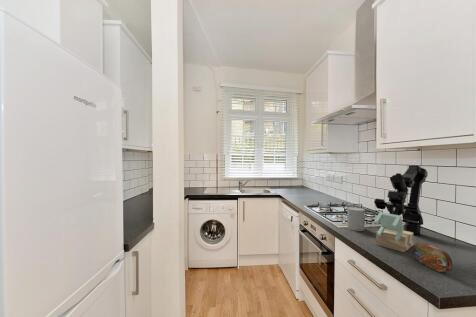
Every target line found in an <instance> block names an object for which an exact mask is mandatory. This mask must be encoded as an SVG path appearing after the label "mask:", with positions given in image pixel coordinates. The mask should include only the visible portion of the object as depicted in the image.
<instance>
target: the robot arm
mask: <svg viewBox="0 0 476 317" xmlns="http://www.w3.org/2000/svg"><path fill="white" fill-rule="evenodd" d="M428 175H429V174H428V170H427V169H426V168H424V167H421V166H420V165H414V164H413V165H411V164H410V165H408V167H407V169H406V170H405V172H404V173H403V174H402V173H400V172H399V173H395V174H393V175H392V176H390V177H389V181H390V183H391V185H392V188H393V189H394V191H392V190H388V193H387V196H386V197H387V198H388V201H387V202H386V201H385V199H384V198H375V199H374V201H373V203H374V204H375V207H376V209H379V210H385V209H386V210H387V211H388V213H389V214H394V215H399V216H401V218H402V223H404V226H403V230H404V231H409V232H413V233H414V235H415V236H416V235H417V236H422V235H423V234H422V233H421V226H422V225H424V218H423V215H422V212H421V209H420V206H419V202H420V199H421V198H420V197H421V192H422V191H421V188H422V184H423V183H425V182H426V180H427V179H426V178H428ZM409 188H410V193H409ZM408 195H409V200H408V202H407V196H408ZM406 202H407V204H405V203H406Z"/></svg>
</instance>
